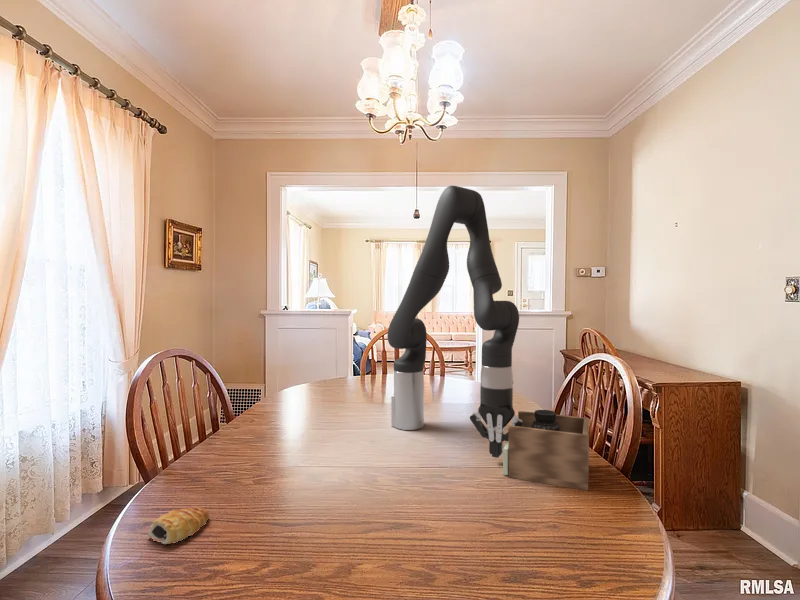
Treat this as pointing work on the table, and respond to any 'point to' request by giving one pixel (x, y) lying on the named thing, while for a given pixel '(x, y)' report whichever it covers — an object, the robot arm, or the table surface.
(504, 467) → the drawer
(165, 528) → the pastry
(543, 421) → the pill bottle
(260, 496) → the table surface
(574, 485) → the caddy
